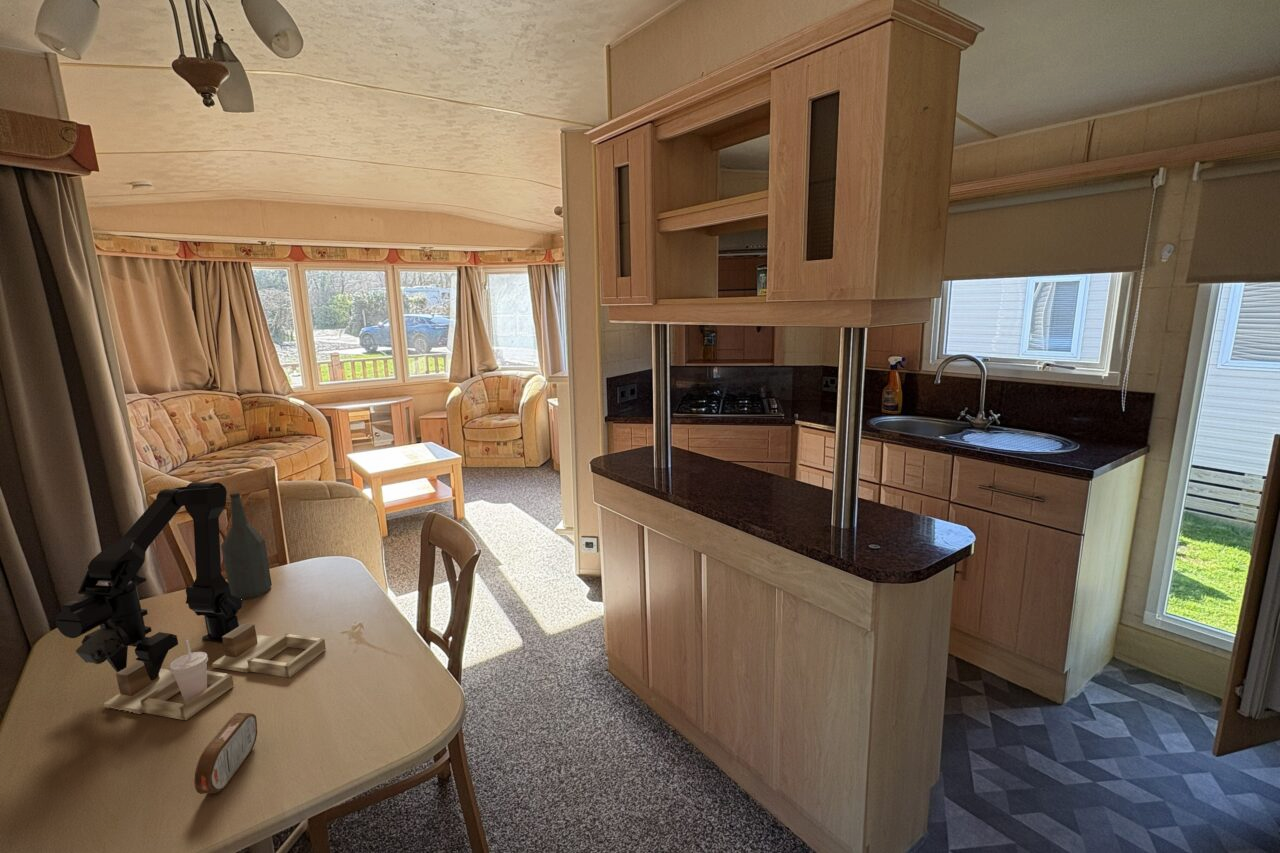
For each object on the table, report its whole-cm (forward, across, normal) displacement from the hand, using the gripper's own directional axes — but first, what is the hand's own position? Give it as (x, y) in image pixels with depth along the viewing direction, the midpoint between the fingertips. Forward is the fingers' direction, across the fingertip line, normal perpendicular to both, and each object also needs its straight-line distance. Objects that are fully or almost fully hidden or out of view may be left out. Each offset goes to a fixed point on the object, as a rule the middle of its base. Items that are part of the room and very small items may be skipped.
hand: (138, 676), depth 128 cm
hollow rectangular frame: (+4, +18, +16) cm, 24 cm away
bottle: (+4, -14, +42) cm, 44 cm away
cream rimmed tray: (+4, +8, 0) cm, 9 cm away
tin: (+4, +39, -14) cm, 42 cm away
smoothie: (+4, +15, 0) cm, 15 cm away
